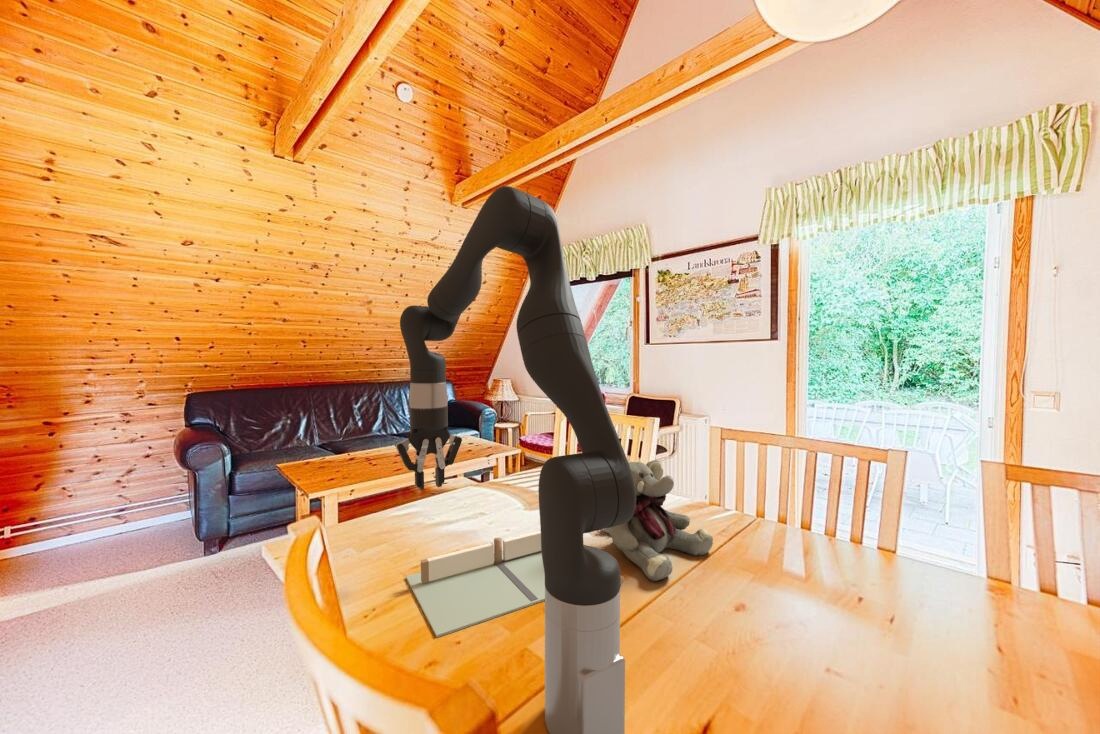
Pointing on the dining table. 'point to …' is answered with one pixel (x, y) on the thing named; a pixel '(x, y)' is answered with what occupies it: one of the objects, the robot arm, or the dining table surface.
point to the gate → (456, 562)
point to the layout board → (480, 593)
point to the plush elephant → (655, 525)
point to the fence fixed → (516, 546)
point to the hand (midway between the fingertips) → (430, 487)
